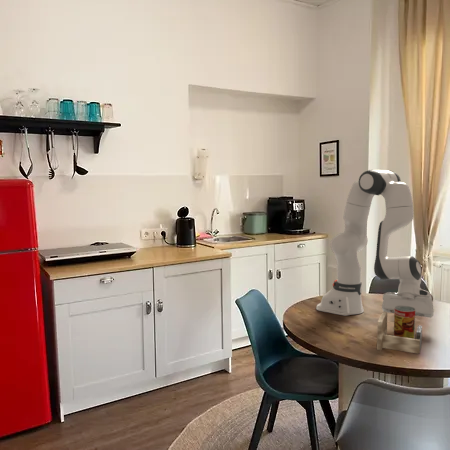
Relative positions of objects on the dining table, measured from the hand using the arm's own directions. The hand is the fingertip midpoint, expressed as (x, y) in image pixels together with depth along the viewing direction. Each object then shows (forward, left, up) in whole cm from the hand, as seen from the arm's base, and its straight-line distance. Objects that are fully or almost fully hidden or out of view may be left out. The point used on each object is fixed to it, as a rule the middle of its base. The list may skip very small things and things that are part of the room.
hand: (405, 323), depth 182 cm
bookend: (+6, -13, -4) cm, 15 cm away
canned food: (0, -5, -5) cm, 7 cm away
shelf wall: (0, -17, -4) cm, 17 cm away
